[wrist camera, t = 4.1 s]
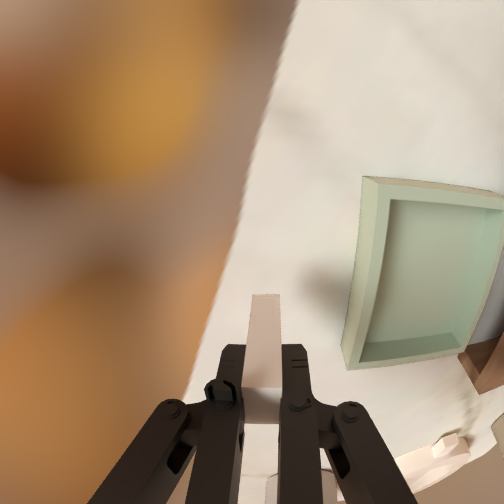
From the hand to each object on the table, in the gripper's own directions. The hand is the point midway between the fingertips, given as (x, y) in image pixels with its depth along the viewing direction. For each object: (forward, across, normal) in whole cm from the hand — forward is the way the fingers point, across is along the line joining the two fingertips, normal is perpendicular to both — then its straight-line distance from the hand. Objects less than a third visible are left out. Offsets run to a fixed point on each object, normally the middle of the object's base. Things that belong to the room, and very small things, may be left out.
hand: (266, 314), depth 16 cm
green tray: (+4, +12, 0) cm, 13 cm away
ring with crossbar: (+5, +31, -50) cm, 59 cm away
